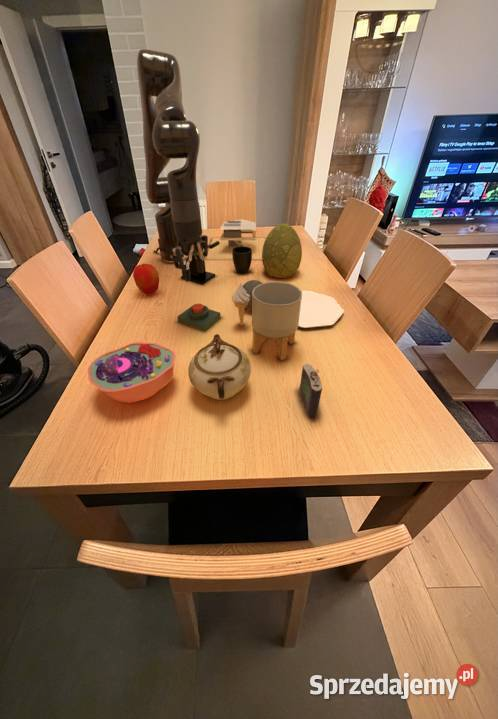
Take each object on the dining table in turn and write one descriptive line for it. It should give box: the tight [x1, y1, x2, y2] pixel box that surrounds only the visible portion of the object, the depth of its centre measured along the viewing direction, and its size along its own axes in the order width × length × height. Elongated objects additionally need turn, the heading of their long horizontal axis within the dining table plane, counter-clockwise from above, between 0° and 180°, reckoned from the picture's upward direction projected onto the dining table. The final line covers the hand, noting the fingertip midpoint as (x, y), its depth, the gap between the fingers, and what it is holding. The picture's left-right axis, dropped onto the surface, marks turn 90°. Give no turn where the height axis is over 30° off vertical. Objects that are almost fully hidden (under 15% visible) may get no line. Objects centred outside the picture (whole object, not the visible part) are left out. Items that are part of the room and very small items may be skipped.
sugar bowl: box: [187, 333, 252, 401], centre depth 71 cm, size 20×15×15 cm
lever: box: [202, 241, 220, 250], centre depth 115 cm, size 12×5×2 cm, turn 60°
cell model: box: [87, 341, 176, 404], centre depth 72 cm, size 17×20×11 cm
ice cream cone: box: [231, 283, 250, 327], centre depth 93 cm, size 6×6×15 cm
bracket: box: [180, 249, 216, 286], centre depth 121 cm, size 11×9×14 cm
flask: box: [298, 363, 323, 419], centre depth 68 cm, size 9×3×11 cm, turn 8°
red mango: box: [132, 262, 160, 296], centre depth 111 cm, size 9×9×12 cm
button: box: [191, 303, 205, 313], centre depth 97 cm, size 4×4×2 cm
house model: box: [205, 218, 267, 260], centre depth 147 cm, size 29×30×12 cm
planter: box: [251, 281, 302, 361], centre depth 83 cm, size 13×13×18 cm
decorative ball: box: [242, 279, 263, 310], centre depth 103 cm, size 10×10×10 cm
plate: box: [298, 290, 345, 329], centre depth 104 cm, size 24×24×2 cm
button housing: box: [177, 304, 222, 332], centre depth 99 cm, size 11×9×4 cm
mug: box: [232, 245, 253, 275], centre depth 128 cm, size 8×12×10 cm
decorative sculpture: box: [261, 223, 303, 279], centre depth 122 cm, size 16×16×20 cm
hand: (194, 276), depth 90 cm, fingers open, 6 cm apart
